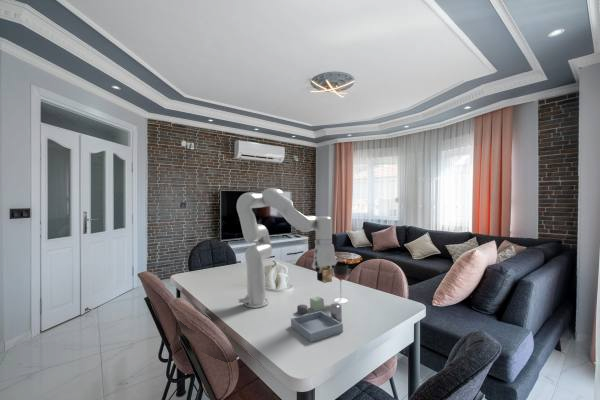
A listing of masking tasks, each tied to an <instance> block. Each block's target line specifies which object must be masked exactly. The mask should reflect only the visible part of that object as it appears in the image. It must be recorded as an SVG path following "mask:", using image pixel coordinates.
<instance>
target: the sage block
mask: <svg viewBox="0 0 600 400" xmlns="http://www.w3.org/2000/svg"><path fill="white" fill-rule="evenodd" d="M324 304H325V301H324V298H322V297H321V296H318V295H317V296H313V297H309V305H310V306H309V308H310V309H312V310H313V311H315V312H318V311H322V310H324V309H325V306H324Z"/></svg>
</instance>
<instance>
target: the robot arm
mask: <svg viewBox="0 0 600 400" xmlns="http://www.w3.org/2000/svg"><path fill="white" fill-rule="evenodd" d="M236 201H237V202H236V211H237V214H238V218H239V222H240V226H241V231H242V235H243V238H244V241H245V242H246V243H247V244H250V243H251V244H252V243H255V244H252V245H251V246H249V247H248V248H246V250H245V253H244V258H245V264H246V279H247V280H246V281H247V282H246V285H247V286H246V288H247V294H246V295H245V296H244V297H243V298H239V299H238V301H237V302H238V303H239V304H241V303H242V304H244V306H245V307H247V308H252V309H258V308H262V307H265V306H267V305H268V304H269V300H268V299H267V298H266V269H265V265H264V261H265V260H268V259H270V257H271V256H272V255H273V254H272V253H273V248H272V242H271V238H270V233H269V230H268V228H267V227H266V226H265V225H263V224H261V223H258V222H257V218H256V214H255V213H254V211H253V209H258V208H259V209H260V208H266V207H271V208H273V209H274V210H276V211H277V212H278V213H280V214H281V215H282V216H283V218H284V220H286V222H287V223H288V224H289V225H291V226H292V227H293V228H295V229H297V230H298V231H300V232H301V233H302V232H303V233H309V232H312V231H316V233H315V234H316V239H315V240H314V244H315V247H314V252H313V261H312V264H311V265H310V266H311V268H312V269H314V270H315V272H316V279H317V278H318V280H317V281H319V282H321V281H322V273H321V271H322V267H328V268H330V269H332V270H333V267H334V266H335V265H336V264H337V262H338V261H336V251H335V246H334V244H333V219H332V217H330V216H328V215H327V216H324V215H321V216H317V215H304V214H303V213H301V211H298V210H297V209H296V208H295V207H294V202H293V201H292V200H291V199H290V198H288V197H286V196H285V193H284V191H283V190H281V189H279V188H275V187H268V188H265V189H264V190H263V191H262V192H253V191H250V192H245V193H242V194H241V195H240V196H239V197H238V199H237V200H236ZM319 267H320V268H319Z"/></svg>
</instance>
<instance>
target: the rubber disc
mask: <svg viewBox="0 0 600 400" xmlns="http://www.w3.org/2000/svg"><path fill="white" fill-rule="evenodd" d="M296 308H297V314H298V315H301V314H302V315H301V316H303V315H307V314H309V313H308V305H307V304H298V305H297V307H296Z"/></svg>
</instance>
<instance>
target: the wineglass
mask: <svg viewBox="0 0 600 400" xmlns="http://www.w3.org/2000/svg"><path fill="white" fill-rule="evenodd" d="M336 262H337V264H336V265H335V266H334V267H333V269H332V272H333V275H334V277H335V278H337V279H338V280H339V297H338V298H337V297H336V298H335V299H334V300H333V301H334V302H335V303H336V304H346V303H348V302H349V301H348V299H346V298H344V297H342V295H343V293H342V281H343V280H345V279H346V278H347V276H348V272H349V271H348V270H349V264H348V263H346V262H339V261H336Z"/></svg>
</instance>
